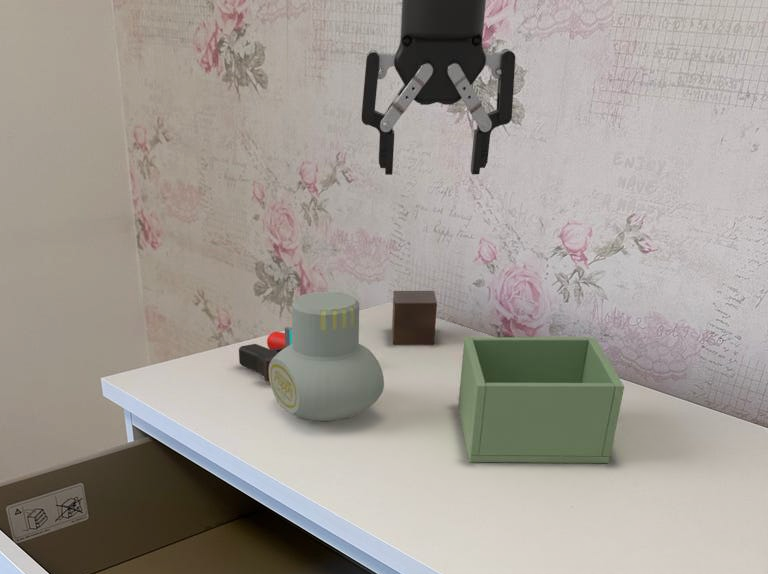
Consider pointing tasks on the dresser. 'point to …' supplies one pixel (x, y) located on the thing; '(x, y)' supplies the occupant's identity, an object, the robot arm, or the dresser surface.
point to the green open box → (538, 400)
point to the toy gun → (264, 352)
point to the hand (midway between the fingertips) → (431, 173)
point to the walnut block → (414, 317)
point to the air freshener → (325, 361)
